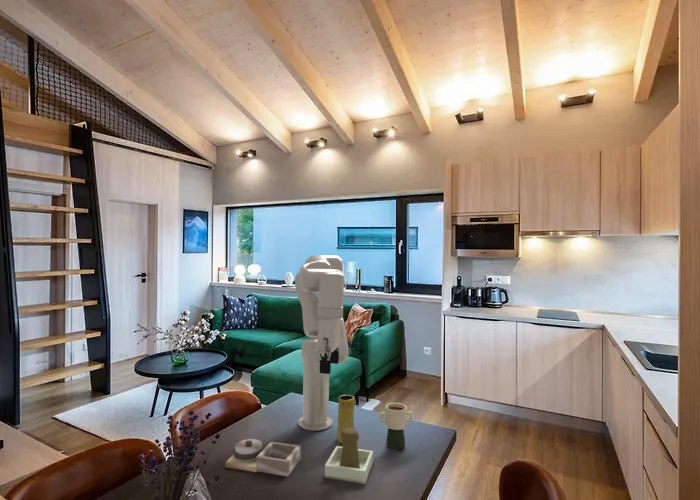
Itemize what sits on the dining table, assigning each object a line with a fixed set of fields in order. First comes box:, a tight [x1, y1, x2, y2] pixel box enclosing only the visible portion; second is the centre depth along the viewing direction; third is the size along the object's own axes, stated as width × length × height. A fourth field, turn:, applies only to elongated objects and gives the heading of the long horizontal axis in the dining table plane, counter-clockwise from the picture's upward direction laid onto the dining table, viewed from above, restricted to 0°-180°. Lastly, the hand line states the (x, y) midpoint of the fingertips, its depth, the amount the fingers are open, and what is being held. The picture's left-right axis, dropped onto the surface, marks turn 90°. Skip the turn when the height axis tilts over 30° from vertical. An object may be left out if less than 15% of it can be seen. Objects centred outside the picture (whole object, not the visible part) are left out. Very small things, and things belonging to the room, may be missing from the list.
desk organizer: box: [225, 438, 302, 477], centre depth 119 cm, size 11×20×6 cm, turn 76°
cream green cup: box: [379, 402, 413, 450], centre depth 130 cm, size 11×7×13 cm, turn 95°
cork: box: [340, 427, 360, 469], centre depth 116 cm, size 6×6×11 cm
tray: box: [324, 445, 374, 485], centre depth 115 cm, size 12×12×4 cm
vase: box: [336, 394, 355, 444], centre depth 134 cm, size 6×6×14 cm
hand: (329, 368), depth 121 cm, fingers open, 9 cm apart
